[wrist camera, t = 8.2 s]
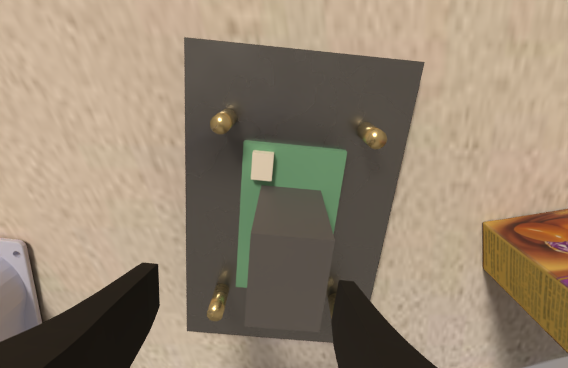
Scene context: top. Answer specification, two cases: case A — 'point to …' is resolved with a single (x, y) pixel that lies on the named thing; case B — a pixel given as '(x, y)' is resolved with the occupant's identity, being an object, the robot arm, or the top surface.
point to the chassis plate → (296, 131)
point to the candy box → (532, 266)
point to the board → (288, 174)
